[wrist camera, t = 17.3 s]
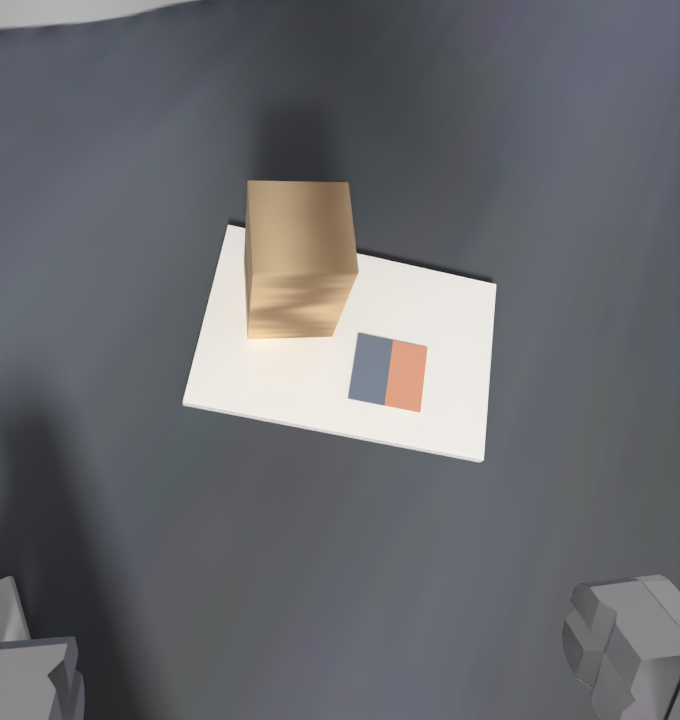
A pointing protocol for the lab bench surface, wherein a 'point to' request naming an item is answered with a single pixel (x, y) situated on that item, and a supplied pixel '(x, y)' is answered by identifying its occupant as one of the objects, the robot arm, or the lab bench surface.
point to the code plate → (358, 359)
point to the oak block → (297, 258)
